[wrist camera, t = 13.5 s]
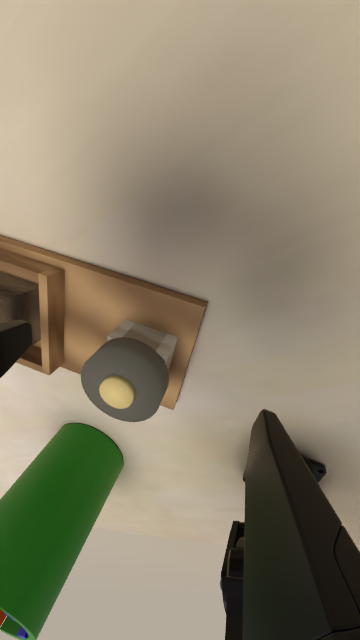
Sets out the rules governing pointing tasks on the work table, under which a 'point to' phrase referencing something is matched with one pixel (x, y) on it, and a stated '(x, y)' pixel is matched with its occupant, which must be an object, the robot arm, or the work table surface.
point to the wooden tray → (101, 313)
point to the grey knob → (125, 379)
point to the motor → (51, 523)
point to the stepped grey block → (20, 302)
